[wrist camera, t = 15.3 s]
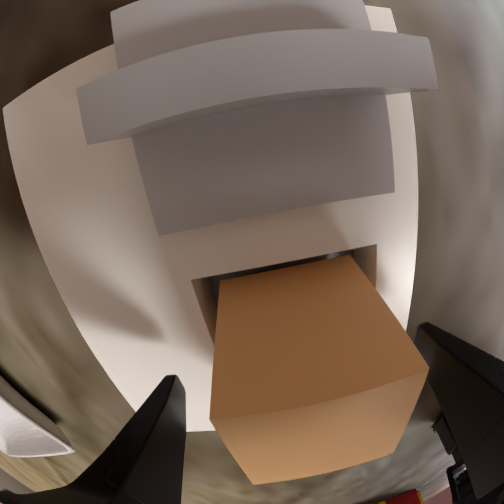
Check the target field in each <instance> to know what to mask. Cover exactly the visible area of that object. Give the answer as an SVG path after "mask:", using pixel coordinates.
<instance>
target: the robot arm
mask: <svg viewBox="0 0 504 504" xmlns="http://www.w3.org/2000/svg"><path fill="white" fill-rule="evenodd" d="M414 345H415V346H416V348H417V349H418V351H419V352H420V354H421V355H422V357H423V359H424V360H425V362H426V363H427V365H428V366H429V371H428V374H427V379H428V381H429V383H430V385H431V387H432V389H433V391H434V393H435V395H436V398H437V400H438V402H439V404H440V406H441V408H442V410H443V414H442V415H441V417H440V419H439V420H438V422H437V424H436V425H435V427H434V429H433V431H434V433H436V432H437V433H438V435H439V437H440V439H441V441H442V443H443V445H444V447H445V450H446V452H447V454H449V455H450V454H452V456H453V458H454V460H455V462H456V464H454V465H453V466H450V467H448V468H447V471H446V473H447V477H448V481H449V485H450V488H451V493H452V503H453V504H504V361H502V360H500V359H498V358H495V357H494V356H492V355H490V354H488V353H487V352H485V351H483V350H481V349H479V348H477V347H475V346H473V345H471V344H469V343H467V342H465V341H464V340H462V339H460V338H458V337H456V336H454V335H452V334H450V333H448V332H446V331H444V330H442V329H440V328H438V327H436V326H434V325H432V324H430V323H428V322H425V323H422V324H419V325H418V326H417V329H416V334H415V338H414ZM185 439H186V392H185V388H184V386H183V384H182V383H181V381H180V379H179V377H178V376H177V375H175V374H174V375H166V376H165V377H164V378H163V379H162V380H161V382H160V383H159V384H158V385H157V387H156V388H155V389H154V390H153V392H152V393H151V394H150V395H149V397H148V398H147V399H146V400H145V402H144V403H143V404H142V405H141V407H140V408H139V409H138V410H137V412H136V413H135V414H134V415H133V416H132V418H131V419H130V420H129V421H128V423H127V424H126V425H125V426H124V428H123V429H122V430H121V431H120V432H119V434H118V435H117V436H116V437H115V440H113V441H112V442H111V443H110V445H109V446H108V447H107V448H106V449H105V450H104V452H103V453H102V454H101V455H100V456H99V457H98V458H97V459H96V460H95V461H94V462H93V463H92V464H91V465H90V466H89V467H88V468H87V469H86V470H85V471H84V472H83V473H82V474H81V475H80V476H79V477H78V478H77V479H75V480H74V481H73V482H72V483H70V484H68V485H67V486H64V487H61V488H56V489H51V490H46V491H41V492H35V493H29V494H15V493H13V492H11V491H9V490H8V489H1V490H0V502H1V503H3V504H181V492H182V477H183V463H184V451H185ZM465 467H466V470H465V471H464V468H465Z"/></svg>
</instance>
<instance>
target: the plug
mask: <svg viewBox="0 0 504 504" xmlns="http://www.w3.org/2000/svg"><path fill="white" fill-rule="evenodd" d="M428 371H429V366H428V365H427V363H426V362H425V360H424V359H423V357H422V355H421V354H420V352H419V351H418V349H417V348H416V346H415V345H414V343H413V342H412V340H411V339H410V337H409V336H408V334H407V333H406V331H405V330H404V328H403V327H402V325H401V324H400V322H399V321H398V319H397V318H396V317H395V315H394V314H393V312H392V311H391V309H390V308H389V307H388V305H387V304H386V302H385V301H384V300H383V298H382V297H381V295H380V294H379V293H378V291H377V290H376V289H375V287H374V286H373V285H372V283H371V282H370V281H369V279H368V278H367V277H366V275H365V274H364V273H363V271H362V270H361V269H360V267H359V266H358V265H357V263H356V262H355V261H354V259H353V258H352V257H351V256H350V255H345V256H340V257H336V258H331V259H326V260H321V261H316V262H312V263H307V264H302V265H297V266H292V267H287V268H282V269H277V270H272V271H267V272H261V273H256V274H251V275H246V276H241V277H235V278H230V279H225V280H220V288H219V299H218V310H217V321H216V333H215V345H214V358H213V371H212V385H211V400H210V416H209V420H210V421H211V423H212V425H213V426H214V428H215V430H216V431H217V433H218V434H219V436H220V437H221V439H222V440H223V442H224V443H225V445H226V447H227V448H228V450H229V451H230V452H231V454H232V455H233V457H234V458H235V460H236V461H237V463H238V464H239V466H240V467H241V468H242V470H243V471H244V473H245V474H246V475H247V477H248V478H249V479H250V481H251V482H252V483H253V484H263V483H272V482H279V481H286V480H292V479H298V478H304V477H309V476H314V475H319V474H323V473H328V472H332V471H336V470H340V469H344V468H348V467H351V466H355V465H358V464H362V463H365V462H368V461H371V460H374V459H377V458H380V457H383V456H386V455H389V454H392V453H393V452H394V450H395V448H396V446H397V444H398V442H399V440H400V438H401V436H402V434H403V432H404V430H405V428H406V426H407V424H408V422H409V419H410V417H411V415H412V413H413V410H414V408H415V405H416V403H417V401H418V398H419V396H420V393H421V390H422V388H423V385H424V383H425V380H426V377H427V374H428Z"/></svg>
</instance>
